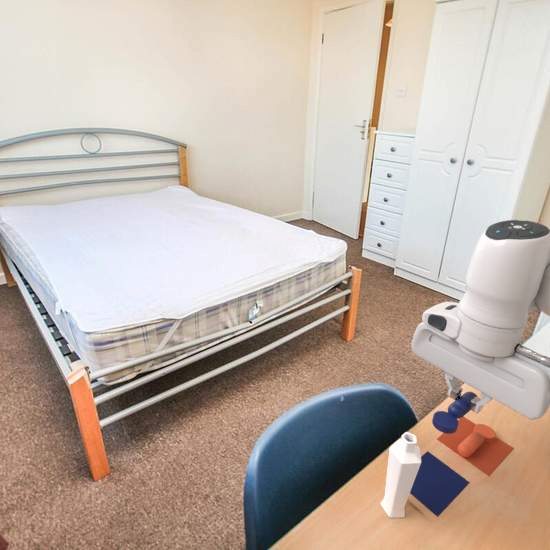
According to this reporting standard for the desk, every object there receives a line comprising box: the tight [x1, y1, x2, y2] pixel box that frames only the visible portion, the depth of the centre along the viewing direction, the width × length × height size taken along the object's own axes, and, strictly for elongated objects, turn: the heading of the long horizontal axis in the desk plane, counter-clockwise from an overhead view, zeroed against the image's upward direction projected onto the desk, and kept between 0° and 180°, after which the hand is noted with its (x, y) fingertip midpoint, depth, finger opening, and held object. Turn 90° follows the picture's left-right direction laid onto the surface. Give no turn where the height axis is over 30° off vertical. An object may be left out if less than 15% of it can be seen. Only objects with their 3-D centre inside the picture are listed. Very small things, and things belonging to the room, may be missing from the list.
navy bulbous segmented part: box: [431, 391, 479, 434], centre depth 61 cm, size 11×4×2 cm, turn 128°
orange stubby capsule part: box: [458, 423, 496, 457], centre depth 72 cm, size 11×4×2 cm, turn 128°
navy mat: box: [409, 450, 470, 518], centre depth 65 cm, size 10×8×1 cm
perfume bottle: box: [380, 431, 422, 519], centre depth 58 cm, size 5×4×15 cm
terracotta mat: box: [436, 415, 515, 477], centre depth 72 cm, size 10×10×1 cm
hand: (463, 403), depth 62 cm, fingers closed on navy bulbous segmented part, 2 cm apart
